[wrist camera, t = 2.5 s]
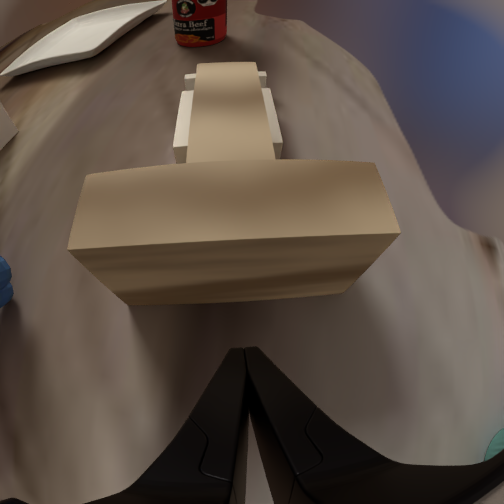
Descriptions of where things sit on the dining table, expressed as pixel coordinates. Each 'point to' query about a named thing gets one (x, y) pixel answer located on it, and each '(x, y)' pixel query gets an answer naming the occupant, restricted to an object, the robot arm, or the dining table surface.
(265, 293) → the t block
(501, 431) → the cupcake
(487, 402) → the dining table surface
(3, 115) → the milk
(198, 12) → the canned food
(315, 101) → the dining table surface
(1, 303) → the grapes
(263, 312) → the dining table surface
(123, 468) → the dining table surface
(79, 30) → the square plate
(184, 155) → the slot guide
